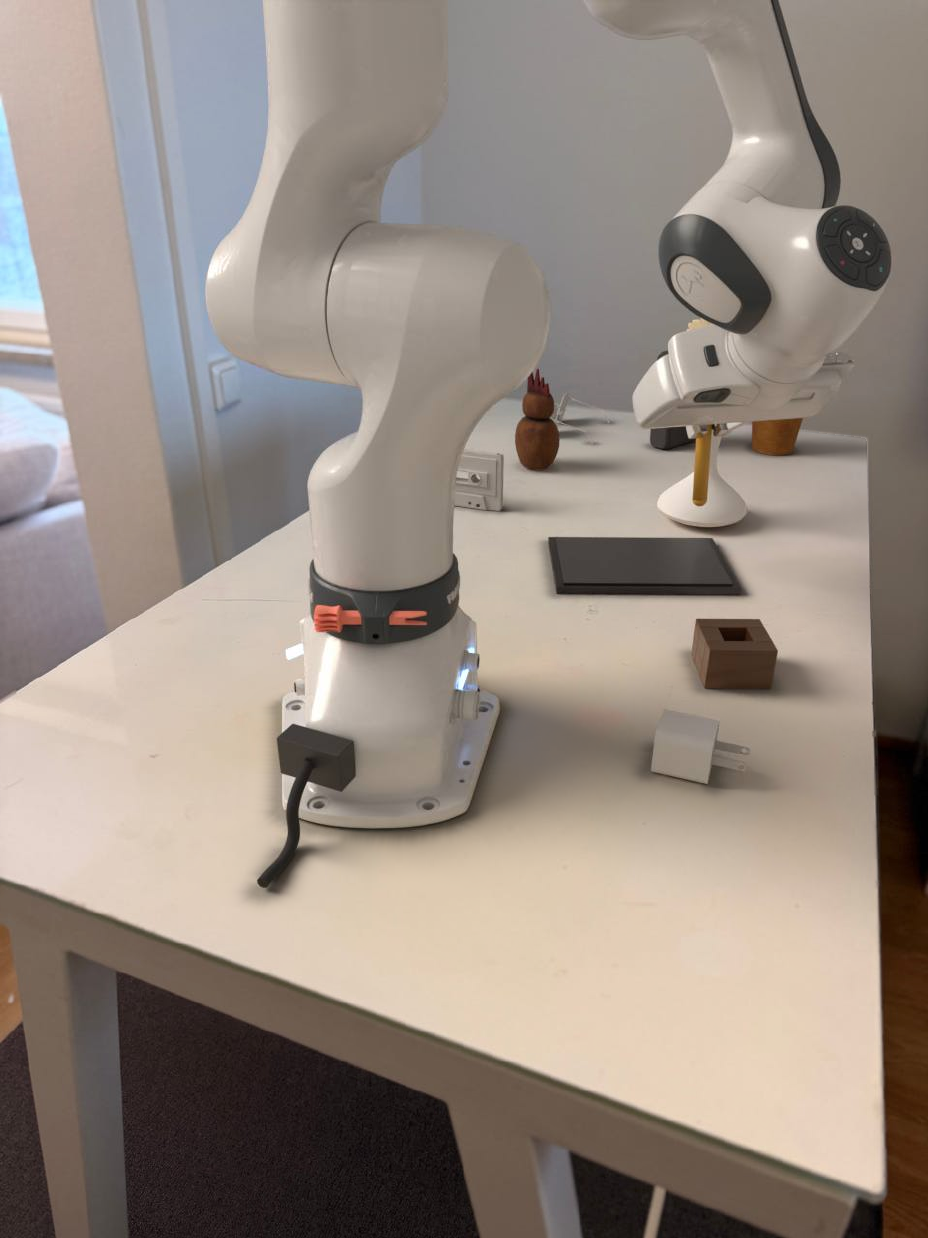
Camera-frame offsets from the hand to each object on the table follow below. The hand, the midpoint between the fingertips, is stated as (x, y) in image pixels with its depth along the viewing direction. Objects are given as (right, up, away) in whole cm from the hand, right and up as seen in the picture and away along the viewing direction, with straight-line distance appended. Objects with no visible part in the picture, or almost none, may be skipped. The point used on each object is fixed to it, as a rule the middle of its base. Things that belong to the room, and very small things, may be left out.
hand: (705, 431), depth 98 cm
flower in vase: (+4, -7, +21) cm, 23 cm away
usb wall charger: (-8, -32, -26) cm, 43 cm away
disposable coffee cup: (+23, +7, +46) cm, 52 cm away
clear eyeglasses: (-7, +11, +56) cm, 57 cm away
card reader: (+8, +8, +49) cm, 50 cm away
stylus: (0, -8, +3) cm, 8 cm away
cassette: (-27, -5, +25) cm, 37 cm away
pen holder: (-1, -25, -13) cm, 29 cm away
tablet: (-6, -14, +7) cm, 17 cm away
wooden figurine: (-15, +3, +39) cm, 42 cm away
